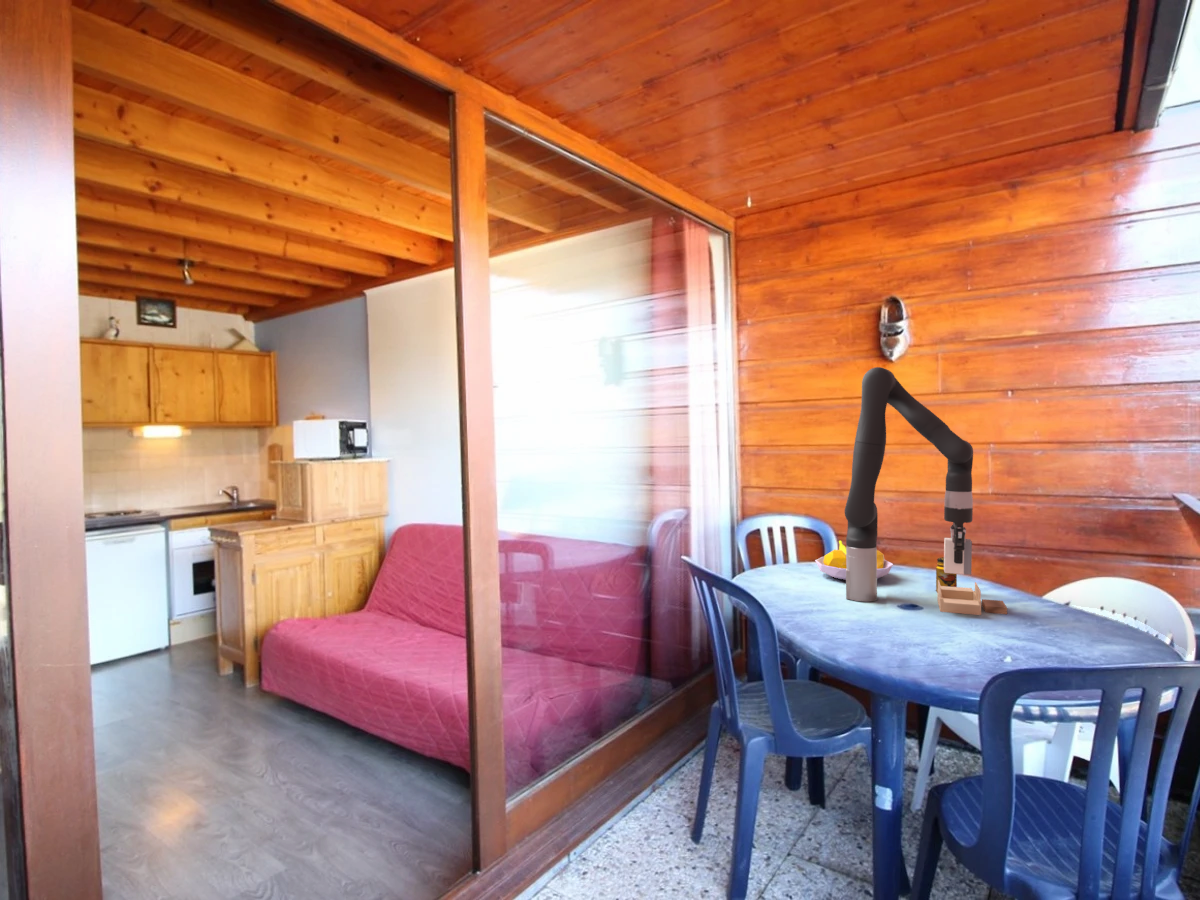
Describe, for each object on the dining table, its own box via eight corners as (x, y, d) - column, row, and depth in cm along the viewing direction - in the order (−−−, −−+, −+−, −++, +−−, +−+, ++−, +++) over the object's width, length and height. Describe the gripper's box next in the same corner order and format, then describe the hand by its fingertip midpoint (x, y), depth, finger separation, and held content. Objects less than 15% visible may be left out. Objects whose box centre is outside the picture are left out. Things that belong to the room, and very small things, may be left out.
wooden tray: (941, 617, 190) (941, 591, 189) (936, 599, 208) (936, 576, 208) (982, 620, 185) (982, 594, 185) (974, 602, 204) (974, 578, 204)
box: (944, 572, 196) (945, 540, 195) (943, 569, 200) (944, 537, 200) (971, 574, 193) (971, 541, 193) (969, 571, 197) (970, 539, 197)
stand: (985, 614, 191) (985, 605, 191) (981, 607, 199) (981, 599, 198) (1007, 616, 189) (1007, 607, 189) (1002, 608, 196) (1002, 600, 196)
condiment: (947, 598, 210) (947, 561, 209) (925, 592, 218) (925, 557, 217) (963, 595, 213) (963, 559, 212) (941, 589, 220) (940, 554, 220)
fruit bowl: (895, 588, 224) (895, 555, 223) (813, 583, 233) (813, 552, 233) (890, 571, 250) (890, 541, 249) (816, 567, 260) (816, 539, 259)
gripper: (942, 502, 204) (941, 556, 204) (946, 508, 191) (945, 565, 191) (969, 503, 201) (968, 558, 201) (975, 509, 188) (974, 567, 188)
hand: (957, 561), depth 196 cm, fingers closed on box, 4 cm apart
